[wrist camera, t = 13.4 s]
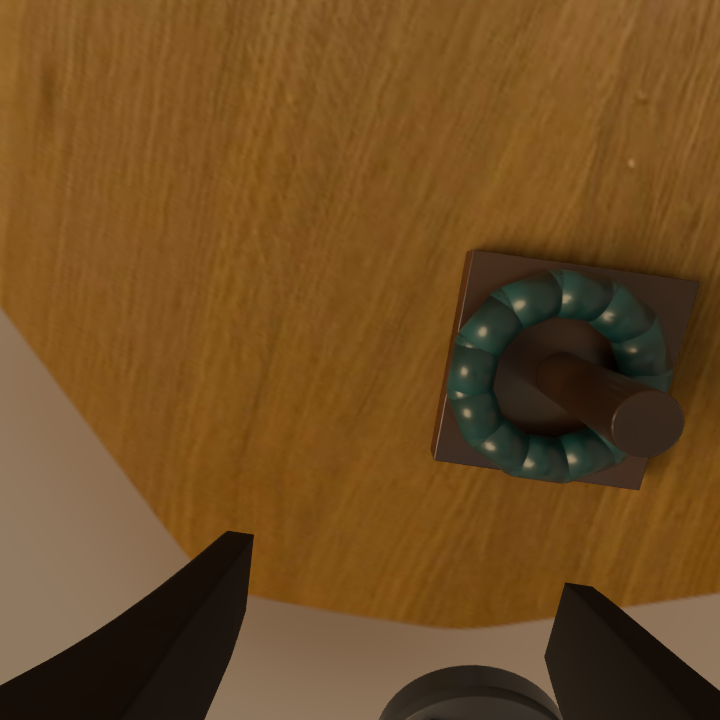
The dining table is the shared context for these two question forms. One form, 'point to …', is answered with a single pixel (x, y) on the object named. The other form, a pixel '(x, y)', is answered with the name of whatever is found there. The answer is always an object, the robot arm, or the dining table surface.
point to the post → (571, 371)
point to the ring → (527, 308)
